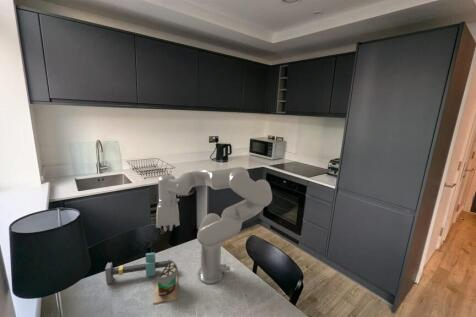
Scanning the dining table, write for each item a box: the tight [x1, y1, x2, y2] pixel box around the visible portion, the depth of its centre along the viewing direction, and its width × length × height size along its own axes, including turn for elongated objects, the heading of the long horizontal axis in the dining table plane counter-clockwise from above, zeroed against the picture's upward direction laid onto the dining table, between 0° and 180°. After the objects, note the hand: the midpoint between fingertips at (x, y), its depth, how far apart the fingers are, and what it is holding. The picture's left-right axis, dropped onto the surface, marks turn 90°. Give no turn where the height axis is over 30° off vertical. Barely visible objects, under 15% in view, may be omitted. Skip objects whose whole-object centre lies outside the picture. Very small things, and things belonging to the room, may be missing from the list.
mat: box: [152, 276, 179, 305], centre depth 102 cm, size 10×13×1 cm
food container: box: [156, 259, 179, 296], centre depth 102 cm, size 12×6×10 cm, turn 171°
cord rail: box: [104, 258, 173, 285], centre depth 109 cm, size 29×4×8 cm, turn 107°
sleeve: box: [145, 251, 157, 277], centre depth 110 cm, size 4×6×10 cm
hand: (168, 237), depth 110 cm, fingers closed
